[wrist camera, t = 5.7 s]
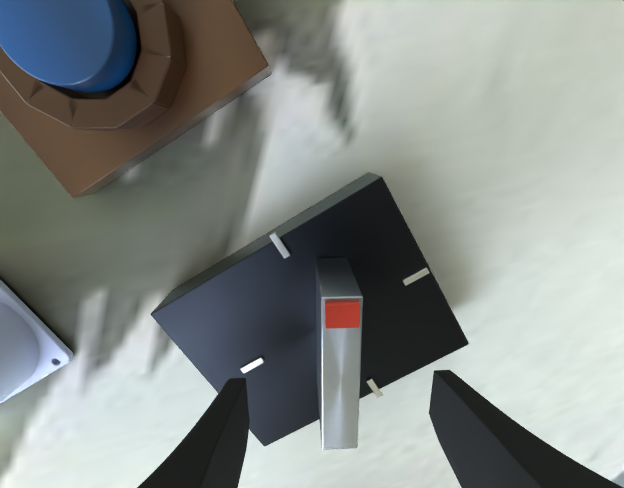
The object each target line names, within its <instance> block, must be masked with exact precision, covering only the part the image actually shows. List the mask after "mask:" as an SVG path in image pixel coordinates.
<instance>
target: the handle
mask: <svg viewBox="0 0 624 488" xmlns="http://www.w3.org/2000/svg"><path fill="white" fill-rule="evenodd" d="M362 309H363V296H362V294H361V291H360V289H359V287H358V284H357V282H356V279H355V277H354V274H353V272H352V270H351V267H350V265H349V262H348V260H347V258H346V257H340V258H316V329H317V386H318V400H319V415H320V430H321V444H322V449H323V450H324V449H349V448H357V444H358V417H359V390H360V363H361V336H362Z"/></svg>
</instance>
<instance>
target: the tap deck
mask: <svg viewBox="0 0 624 488" xmlns="http://www.w3.org/2000/svg"><path fill="white" fill-rule="evenodd" d="M340 257H346V258H347V260H348V262H349V265H350V267H351V270H352V272H353V274H354V277H355V279H356V282H357V284H358V287H359V289H360V291H361V294H362V296H363V309H362V336H361V363H360V390H359V399H360V398H362V397H364V396H366V395H368V394H370V393H372V392H374V393H375V395H376V396H377V398H378V397H380V396H382V395H383V394H382V392H381V391H380V388H382V387H384V386H386V385H388V384H390V383H392V382H394V381H396V380H398V379H400V378H402V377H404V376H406V375H408V374H410V373H412V372H414V371H416V370H418V369H420V368H422V367H424V366H426V365H428V364H430V363H432V362H434V361H436V360H438V359H440V358H442V357H444V356H446V355H448V354H450V353H452V352H454V351H456V350H458V349H460V348H462V347H464V346H466V345H468V344H469V343H468V341H467V339H466V337H465V335H464V333H463V331H462V329H461V327H460V325H459V323H458V322H457V320H456V318H455V316H454V314H453V312H452V310H451V308H450V306H449V304H448V302H447V300H446V299H445V297H444V295H443V293H442V291H441V289H440V287H439V285H438V283H437V281H436V279H435V277H434V276H433V274H432V272H431V270H430V268H429V266H428V264H427V262H426V260H425V258H424V256H423V254H422V252H421V251H420V249H419V247H418V245H417V243H416V241H415V239H414V237H413V235H412V233H411V231H410V229H409V228H408V226H407V224H406V222H405V220H404V218H403V216H402V214H401V212H400V210H399V208H398V206H397V205H396V203H395V201H394V199H393V197H392V195H391V193H390V191H389V189H388V187H387V185H386V183H385V181H384V180H383V178H382V177H381V176H378V175H375V174H373V173H370V172H368V173H367V174H365V175H363V176H362V177H360V178H358V179H357V180H355V181H353V182H352V183H350V184H348V185H347V186H345V187H343V188H342V189H340V190H338V191H337V192H335V193H333V194H332V195H330V196H328V197H327V198H325V199H323V200H322V201H320V202H318V203H317V204H315V205H313V206H312V207H310V208H308V209H307V210H305V211H303V212H302V213H300V214H298V215H297V216H295V217H293V218H292V219H290V220H288V221H287V222H285V223H283V224H282V225H280V226H278V227H277V228H275V229H273V230H272V231H270V232H268V233H267V234H265V235H263V236H262V237H260V238H258V239H257V240H255V241H253V242H252V243H250V244H248V245H247V246H245V247H243V248H242V249H240V250H238V251H237V252H235V253H233V254H232V255H230V256H228V257H227V258H225V259H223V260H222V261H220V262H218V263H217V264H215V265H213V266H212V267H210V268H208V269H207V270H205V271H203V272H202V273H200V274H198V275H197V276H195V277H193V278H192V279H190V280H188V281H187V282H185V283H183V284H182V285H180V286H178V287H177V288H175V289H173V290H172V291H171V292H170V293H169V294H168V296H167V297H166V298H165V299H164V300H163V301H162V302H161V303H160V304H159V305H158V307H157V308H156V309H155V310H154V311H153V312H152V313H151V316H152V317H153V318H154V319H155V320H156V321H157V323H158V324H159V325H160V326H161V327H162V328H163V330H164V331H165V332H166V333H167V334H168V335H169V336H170V338H171V339H172V340H173V341H174V342H175V343H176V345H177V346H178V347H179V348H180V349H181V350H182V352H183V353H184V354H185V355H186V356H187V357H188V359H189V360H190V361H191V362H192V363H193V364H194V366H195V367H196V368H197V369H198V370H199V371H200V372H201V374H202V375H203V376H204V377H205V378H206V379H207V381H208V382H209V383H210V384H211V385H212V386H213V388H214V389H215V390H216V391H217V392H218V393H219V392H220V391H221V389H222V388H223V386H224V385H225V383H226V382H227V380H228V379H229V378H246V386H247V397H248V408H249V419H250V423H249V429H250V431H251V432H252V433H253V434H254V435H255V436H256V438H257V439H258V440H259V441H260V442H261V443H262V444H263V446H267V445H269V444H271V443H273V442H275V441H277V440H279V439H281V438H283V437H284V436H286V435H288V434H290V433H292V432H294V431H296V430H298V429H300V428H302V427H304V426H306V425H308V424H310V423H312V422H314V421H316V420H318V419H320V415H319V400H318V386H317V329H316V258H340Z"/></svg>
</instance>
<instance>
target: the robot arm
mask: <svg viewBox="0 0 624 488" xmlns="http://www.w3.org/2000/svg"><path fill="white" fill-rule="evenodd" d="M73 357H74V356H73V353H72V351H71V350H70V349H69V348H68V347H67V346H66V345H65V344H64V343H63V342H62V341H61V340H60V339H59V338H58V337H57V336H56V335H55V334H54V333H53V332H52V331H51V330H50V329H49V328H48V327H47V326H46V325H45V324H44V323H43V322H42V321H41V320H40V319H39V318H38V317H37V316H36V315H35V314H34V313H33V312H32V311H31V310H30V309H29V308H28V307H27V306H26V305H25V304H24V303H23V302H22V301H21V300H20V299H19V298H18V297H17V296H16V295H15V294H14V293H13V292H12V291H11V290H10V289H9V288H8V287H7V286H6V285H5V284H4V283H3V282H2V281H1V280H0V403H2V402H4V401H5V400H7V399H9V398H11V397H12V396H14V395H16V394H17V393H19V392H21V391H22V390H24V389H26V388H27V387H29V386H31V385H32V384H34V383H36V382H37V381H39V380H41V379H42V378H44V377H46V376H47V375H49V374H51V373H53V372H54V371H56V370H58V369H59V368H61V367H63V366H64V365H66V364H68V363H69V362H70V361H71V360H72V359H73ZM57 359H58V360H59V361H58V360H57ZM429 415H430V418H431V421H432V423H433V426H434V429H435V432H436V434H437V437H438V440H439V442H440V444H441V446H442V449H443V451H444V453H445V455H446V457H447V459H448V461H449V463H450V465H451V467H452V469H453V471H454V473H455V475H456V477H457V479H458V481H459V483H460V485H461V487H462V488H623V487H621V486H619V485H617V484H615V483H613V482H612V481H610V480H608V479H606V478H604V477H602V476H601V475H599V474H597V473H595V472H593V471H592V470H590V469H588V468H586V467H585V466H583V465H581V464H579V463H578V462H576V461H574V460H573V459H571V458H569V457H568V456H566V455H564V454H563V453H561V452H560V451H558V450H556V449H555V448H553V447H552V446H550V445H549V444H547V443H545V442H544V441H542V440H541V439H539V438H538V437H536V436H535V435H533V434H532V433H531V432H529V431H528V430H526V429H525V428H524V427H522V426H521V425H519V424H518V423H517V422H515V421H514V420H512V419H511V418H510V417H508V416H507V415H506V414H504V413H503V412H502V411H500V410H499V409H498V408H497V407H495V406H494V405H493V404H491V403H490V402H489V401H488V400H486V399H485V398H484V397H483V396H481V395H480V394H479V393H478V392H477V391H475V390H474V389H473V388H472V387H470V386H469V385H468V384H467V383H465V382H464V381H463V380H462V379H461V378H459V377H458V376H457V375H456V374H454V373H453V372H452V371H450V370H436V371H434V375H433V383H432V392H431V401H430V409H429ZM249 423H250V419H249V408H248V397H247V386H246V378H229V379H228V380H227V382H226V383H225V385H224V386H223V388H222V389H221V391H220V392H219V394H218V395H217V396H216V398H215V399H214V401H213V402H212V403H211V405H210V406H209V408H208V409H207V410H206V412H205V413H204V414H203V416H202V417H201V418H200V419H199V421H198V422H197V423H196V425H195V426H194V427H193V428H192V430H191V431H190V432H189V433H188V434H187V436H186V437H185V438H184V439H183V440H182V442H181V443H180V444H179V445H178V446H177V447H176V449H175V450H174V451H173V452H172V453H171V454H170V455H169V456H168V457H167V458H166V460H165V461H164V462H163V463H162V464H161V465H160V466H159V467H158V468H157V469H156V470H155V471H154V472H153V473H152V474H151V475H150V476H149V477H148V478H147V479H146V480H145V481H144V482H143V483H142V484H141V485H140V486H138V487H137V488H237V487H238V483H239V479H240V474H241V470H242V466H243V461H244V457H245V452H246V447H247V439H248V431H249Z"/></svg>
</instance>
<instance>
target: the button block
mask: <svg viewBox="0 0 624 488" xmlns="http://www.w3.org/2000/svg"><path fill="white" fill-rule="evenodd" d="M122 1H123V2H124V4H125V5H126V7H127V9H128V11H129V13H130V15H131V18H132V21H133V24H134V27H135V32H136V40H137V50H136V57H135V60H134V64H133V66H132V68H131V70H130V72H129V74H128V75H127V77H126V78H125V79H124V80H123V81H122V82H121V83H120V84H118V85H117V86H115V87H114V88H112V89H110V90H107V91H104V92H99V93H85V92H80V91H76V90H72V89H68V88H64V87H60V86H56V85H52V84H49V83H46V82H43V81H41V80H39V79H36V78H34V77H33V76H31V75H29V74H28V73H26V72H25V71H24V70H22V69H21V68H20V67H19V66H18V65H17V64H15V63H14V62H13V61H12V60H11V59H10V57H9V56H8V55H7V54H6V53H5V51H4V50H3V49H2V47H1V46H0V112H1V113H2V114H3V116H4V117H5V118H6V119H7V120H8V121H9V123H10V124H11V125H12V126H13V127H14V129H15V130H16V131H17V132H18V133H19V135H20V136H21V137H22V138H23V139H24V141H25V142H26V143H27V144H28V145H29V147H30V148H31V149H32V150H33V151H34V152H35V154H36V155H37V156H38V157H39V158H40V160H41V161H42V162H43V163H44V164H45V166H46V167H47V168H48V169H49V170H50V172H51V173H52V174H53V175H54V176H55V178H56V179H57V180H58V181H59V182H60V183H61V185H62V186H63V187H64V188H65V189H66V191H67V192H68V193H69V194H70V195H71V197H72V198H77V197H81V196H86V195H90V194H94V193H96V192H97V191H99V190H100V189H102V188H103V187H104V186H106V185H107V184H109V183H110V182H112V181H113V180H115V179H116V178H118V177H119V176H121V175H122V174H124V173H125V172H127V171H128V170H130V169H131V168H133V167H134V166H136V165H137V164H139V163H140V162H142V161H143V160H145V159H146V158H148V157H149V156H151V155H152V154H153V153H155V152H156V151H158V150H159V149H161V148H162V147H164V146H165V145H167V144H168V143H170V142H171V141H173V140H174V139H176V138H177V137H179V136H180V135H182V134H183V133H185V132H186V131H188V130H189V129H191V128H192V127H194V126H195V125H197V124H198V123H200V122H201V121H202V120H204V119H205V118H207V117H208V116H210V115H211V114H213V113H214V112H216V111H217V110H219V109H220V108H222V107H223V106H225V105H226V104H228V103H229V102H231V101H232V100H234V99H235V98H237V97H238V96H240V95H241V94H243V93H244V92H246V91H247V90H249V89H250V88H251V87H253V86H254V85H256V84H257V83H259V82H260V81H262V80H263V79H265V78H266V77H268V76H269V75H271V74H272V72H271V70H270V67H269V65H268V63H267V61H266V59H265V58H264V56H263V54H262V52H261V51H260V49H259V47H258V45H257V44H256V42H255V40H254V38H253V37H252V35H251V33H250V31H249V29H248V28H247V26H246V24H245V22H244V21H243V19H242V17H241V15H240V14H239V12H238V10H237V8H236V7H235V5H234V3H233V1H232V0H122Z"/></svg>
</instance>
